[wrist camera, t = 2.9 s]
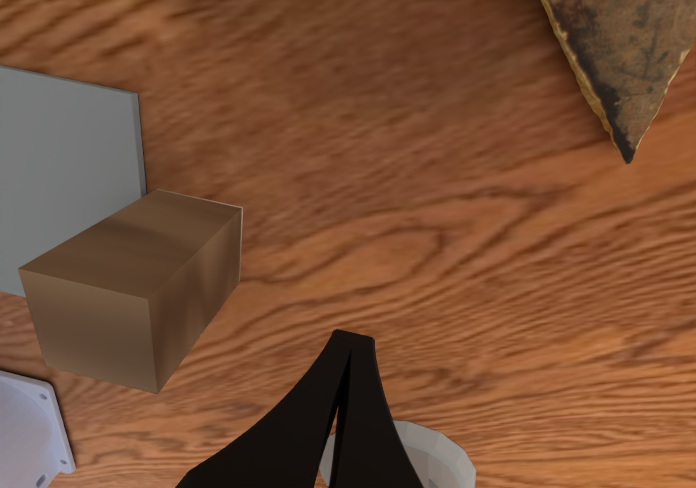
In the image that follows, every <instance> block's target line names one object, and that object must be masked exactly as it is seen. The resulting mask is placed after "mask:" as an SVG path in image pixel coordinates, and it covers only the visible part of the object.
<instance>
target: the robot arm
mask: <svg viewBox="0 0 696 488" xmlns="http://www.w3.org/2000/svg"><path fill="white" fill-rule="evenodd" d="M338 405H339V406H338ZM337 408H338V415H337V424H336V432H335V441H334V450H333V459H332V468H331V475H330V481H329V487H328V488H424V486H423V484H422V483H421V481H420V479H419V477H418V475H417V473H416V471H415V469H414V467H413V465H412V463H411V461H410V459H409V457H408V455H407V453H406V451H405V448H404V446H403V444H402V442H401V439H400V437H399V435H398V432H397V430H396V427H395V424H394V422H393V419H392V416H391V413H390V410H389V407H388V404H387V401H386V398H385V394H384V391H383V387H382V383H381V379H380V375H379V371H378V366H377V360H376V353H375V340H374V339H373V338H372V337H369V336H365V335H360V334H356V333H352V332H347V331H343V330H339V329H336V330H334V331H333V333H332V335H331V337H330V339H329V341H328V343H327V344H326V346H325V348H324V349H323V351H322V352H321V354H320V355H319V357H318V358H317V359H316V361H315V362H314V363H313V365H312V366H311V367H310V369H309V370H308V371H307V372H306V374H305V375H304V376H303V377H302V378H301V379H300V381H299V382H298V383H297V384H296V385H295V386H294V387H293V389H292V390H291V391H290V392H289V393H288V394H287V395H286V396H285V397H284V398H283V399H282V400H281V401H280V402H279V403H278V404H277V405H276V406H275V407H274V408H273V409H272V410H271V411H270V412H268V413H267V414H266V415H265V416H264V417H263V418H262V419H261V420H259V421H258V422H257V423H256V424H255V425H254V426H252V427H251V428H250V429H249V430H247V431H246V432H245V433H243V434H242V435H241V436H239V437H238V438H237V439H235V440H234V441H233V442H231V443H230V444H229V445H227V446H226V447H225V448H223V449H222V450H220V451H219V452H218V453H216V454H214V455H213V456H211V457H210V458H208V459H207V460H205V461H204V462H202V463H201V464H199V465H197V466H196V467H194V468H193V469H191V470H190V471H188V473H187V474H186V475H185V476H184V477H183V479H182V480H181V481H180V482H179V484H178V485H177V486H176V487H175V488H314V485H315V481H316V477H317V473H318V469H319V466H320V463H321V460H322V456H323V453H324V450H325V447H326V444H327V440H328V437H329V434H330V431H331V428H332V424H333V421H334V418H335V415H336V412H337ZM75 469H76V467H75V463H74V459H73V456H72V452H71V449H70V445H69V442H68V439H67V435H66V432H65V428H64V425H63V421H62V418H61V414H60V411H59V407H58V404H57V400H56V397H55V393H54V390H53V387H52V386H51V385H50V384H49V383H47V382H44V381H40V380H36V379H32V378H28V377H24V376H20V375H16V374H12V373H8V372H4V371H0V488H46V487H47V486H48V485H49V484H50V483H51V481H52V480H53V479H54V478H55V476H56V475H57V474H58V473H59V472H62V473H66V474H71V473H72V472H73V471H74V470H75Z"/></svg>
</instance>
